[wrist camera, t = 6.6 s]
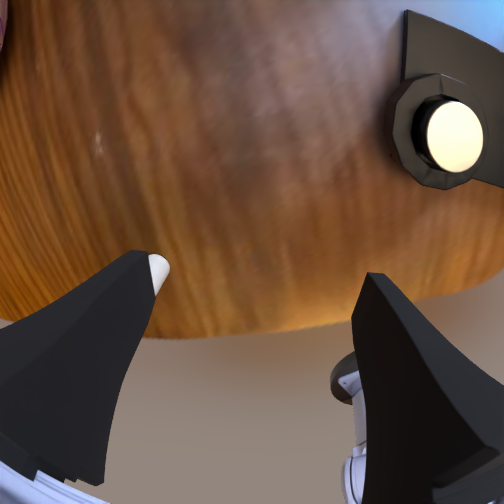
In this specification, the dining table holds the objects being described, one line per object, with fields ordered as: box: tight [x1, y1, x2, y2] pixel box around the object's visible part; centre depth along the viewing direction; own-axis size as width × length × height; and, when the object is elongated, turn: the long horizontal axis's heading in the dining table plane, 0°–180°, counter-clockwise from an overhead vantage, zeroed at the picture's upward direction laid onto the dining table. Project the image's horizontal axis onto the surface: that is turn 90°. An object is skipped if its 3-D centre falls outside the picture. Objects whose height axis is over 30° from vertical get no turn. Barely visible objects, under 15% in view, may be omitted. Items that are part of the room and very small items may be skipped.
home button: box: [414, 99, 483, 173], centre depth 13 cm, size 4×4×2 cm
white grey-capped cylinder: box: [148, 254, 170, 296], centre depth 19 cm, size 2×2×8 cm
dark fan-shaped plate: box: [383, 9, 504, 190], centre depth 13 cm, size 15×11×2 cm
